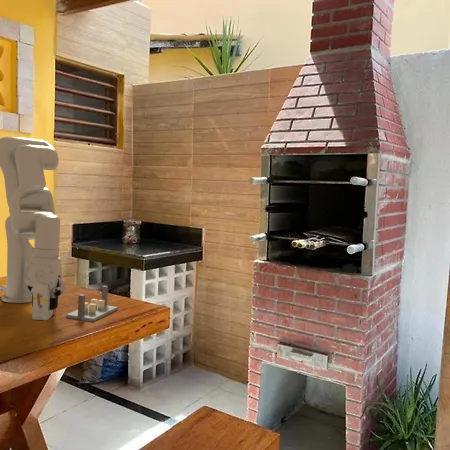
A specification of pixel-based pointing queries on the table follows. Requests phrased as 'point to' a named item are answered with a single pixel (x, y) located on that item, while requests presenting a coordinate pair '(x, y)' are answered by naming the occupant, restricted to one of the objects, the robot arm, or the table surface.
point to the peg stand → (92, 308)
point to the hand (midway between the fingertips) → (44, 306)
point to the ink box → (41, 302)
